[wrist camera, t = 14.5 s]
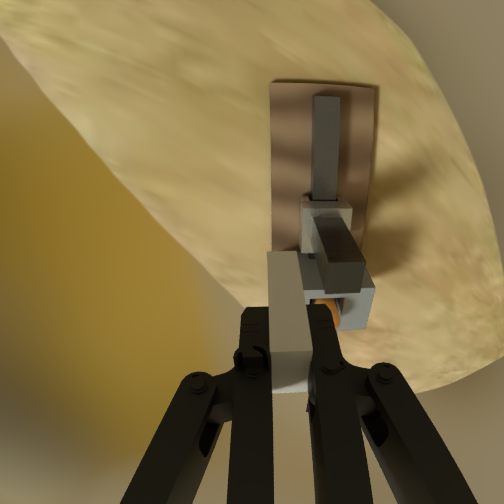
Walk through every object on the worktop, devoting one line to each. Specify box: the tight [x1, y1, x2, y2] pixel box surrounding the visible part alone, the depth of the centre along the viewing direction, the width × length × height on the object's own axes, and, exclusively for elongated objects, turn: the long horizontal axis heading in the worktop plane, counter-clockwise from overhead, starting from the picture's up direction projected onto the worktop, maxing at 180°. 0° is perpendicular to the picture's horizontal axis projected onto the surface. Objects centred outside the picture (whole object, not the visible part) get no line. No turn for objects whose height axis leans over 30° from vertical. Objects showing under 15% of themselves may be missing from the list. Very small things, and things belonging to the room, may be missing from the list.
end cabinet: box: [297, 252, 375, 331], centre depth 42 cm, size 7×12×9 cm, turn 92°
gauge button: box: [311, 298, 341, 329], centre depth 40 cm, size 3×3×8 cm
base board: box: [270, 83, 375, 252], centre depth 41 cm, size 31×13×1 cm, turn 2°
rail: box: [308, 95, 340, 259], centre depth 38 cm, size 22×3×2 cm, turn 2°
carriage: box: [299, 196, 366, 294], centre depth 35 cm, size 6×6×14 cm
